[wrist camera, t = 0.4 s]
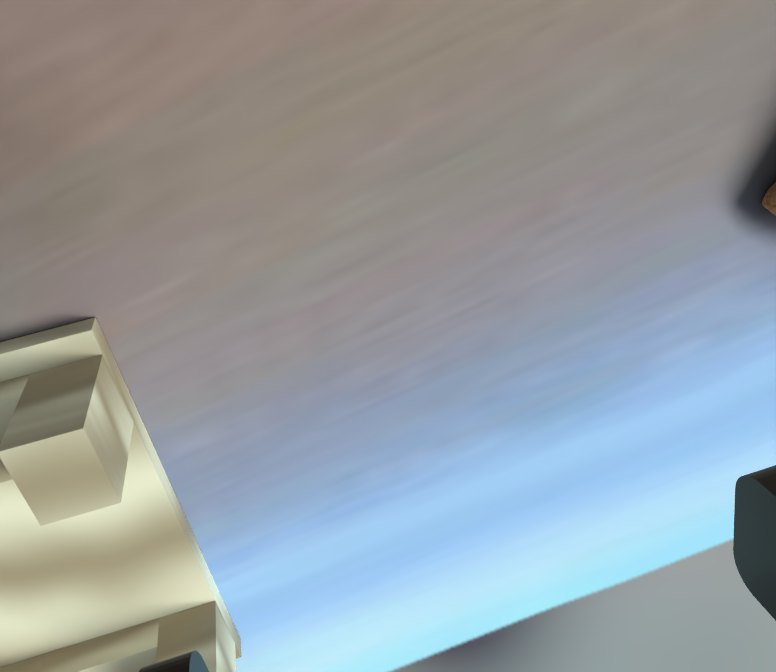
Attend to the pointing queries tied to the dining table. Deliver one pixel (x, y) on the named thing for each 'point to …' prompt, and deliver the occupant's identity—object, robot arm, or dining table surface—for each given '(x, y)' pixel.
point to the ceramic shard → (770, 199)
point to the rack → (92, 522)
